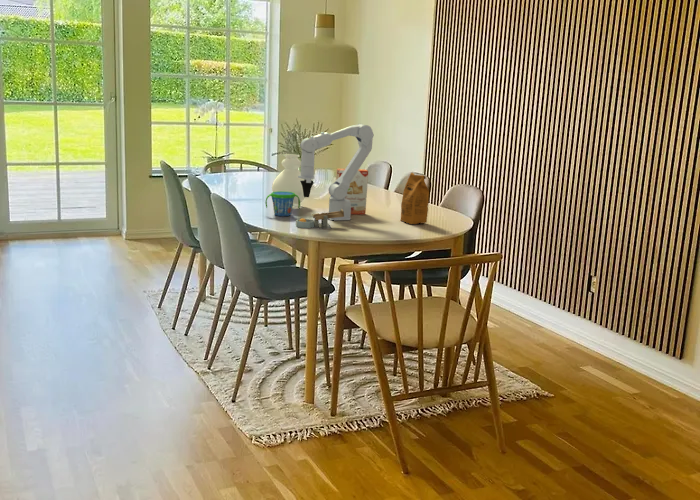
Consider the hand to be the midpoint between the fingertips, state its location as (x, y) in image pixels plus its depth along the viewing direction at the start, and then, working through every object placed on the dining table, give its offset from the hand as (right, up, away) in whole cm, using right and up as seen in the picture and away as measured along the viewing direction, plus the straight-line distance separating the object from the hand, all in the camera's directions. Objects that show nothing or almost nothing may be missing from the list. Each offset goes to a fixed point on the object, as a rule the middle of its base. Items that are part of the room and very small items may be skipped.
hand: (306, 197), depth 329 cm
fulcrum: (+8, -13, -12) cm, 20 cm away
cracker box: (+19, -6, +22) cm, 30 cm away
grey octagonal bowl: (0, -13, -13) cm, 19 cm away
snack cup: (-11, -8, +9) cm, 17 cm away
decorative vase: (-10, -3, +32) cm, 34 cm away
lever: (+10, -9, -10) cm, 16 cm away
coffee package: (+48, -11, +8) cm, 49 cm away
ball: (-1, -11, -14) cm, 18 cm away
